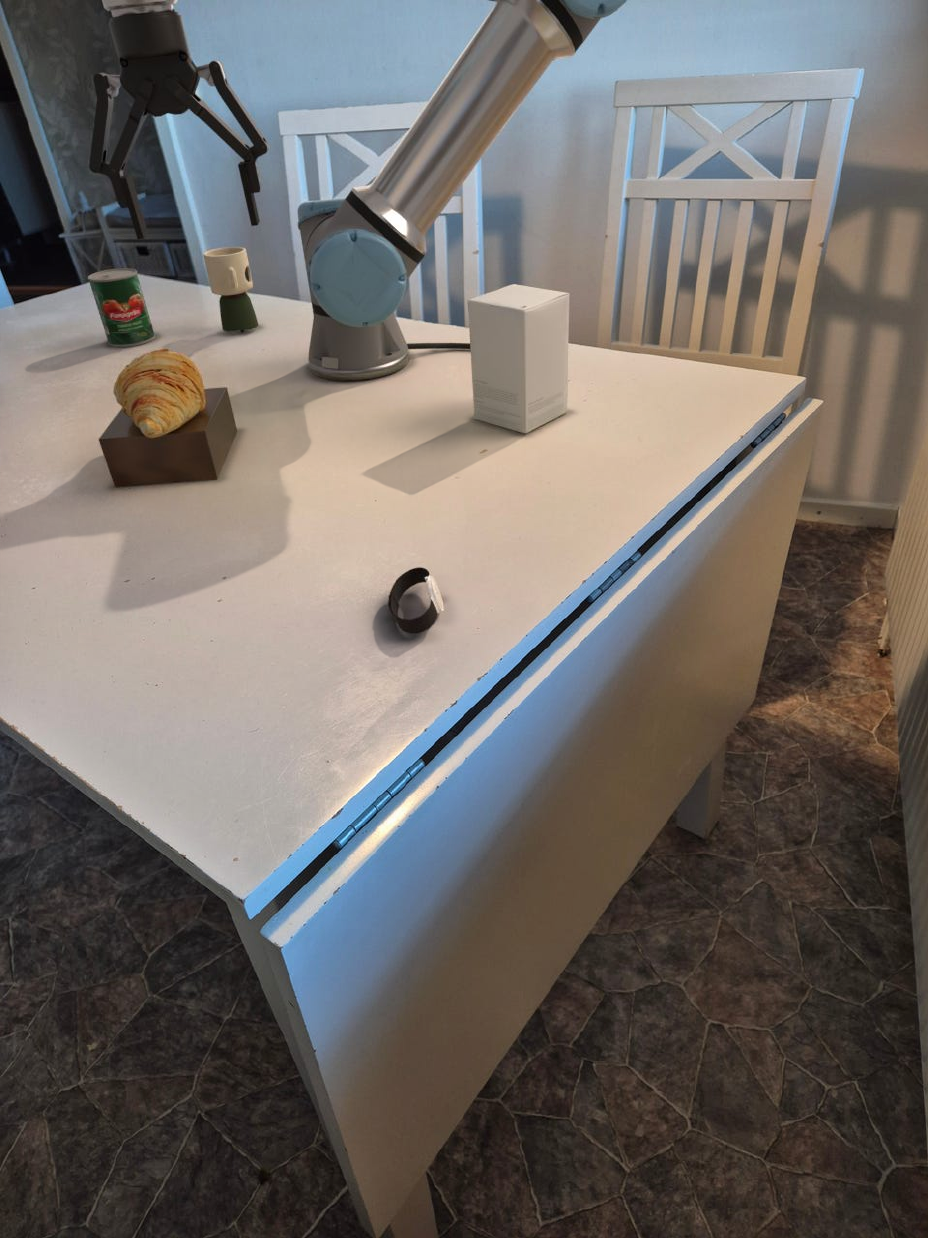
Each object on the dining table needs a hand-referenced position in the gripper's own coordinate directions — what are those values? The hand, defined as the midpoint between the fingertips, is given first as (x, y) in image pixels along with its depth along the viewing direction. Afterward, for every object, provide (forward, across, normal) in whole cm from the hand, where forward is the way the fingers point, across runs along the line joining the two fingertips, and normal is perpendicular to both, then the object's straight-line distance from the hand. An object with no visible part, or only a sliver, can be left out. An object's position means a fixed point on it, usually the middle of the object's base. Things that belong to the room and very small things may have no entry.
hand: (199, 230), depth 98 cm
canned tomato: (+22, +24, -39) cm, 51 cm away
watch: (+24, -20, +52) cm, 61 cm away
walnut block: (+23, +7, +14) cm, 27 cm away
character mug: (+23, +5, -39) cm, 46 cm away
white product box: (+24, -36, +11) cm, 45 cm away
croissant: (+17, +7, +14) cm, 23 cm away
